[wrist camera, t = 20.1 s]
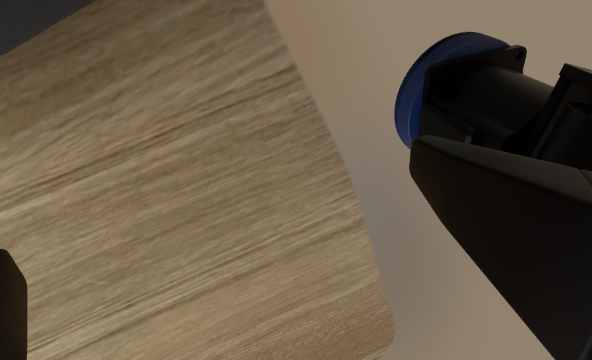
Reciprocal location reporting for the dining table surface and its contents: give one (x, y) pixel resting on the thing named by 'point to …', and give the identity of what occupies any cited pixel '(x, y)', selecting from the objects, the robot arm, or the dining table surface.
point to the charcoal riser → (32, 18)
